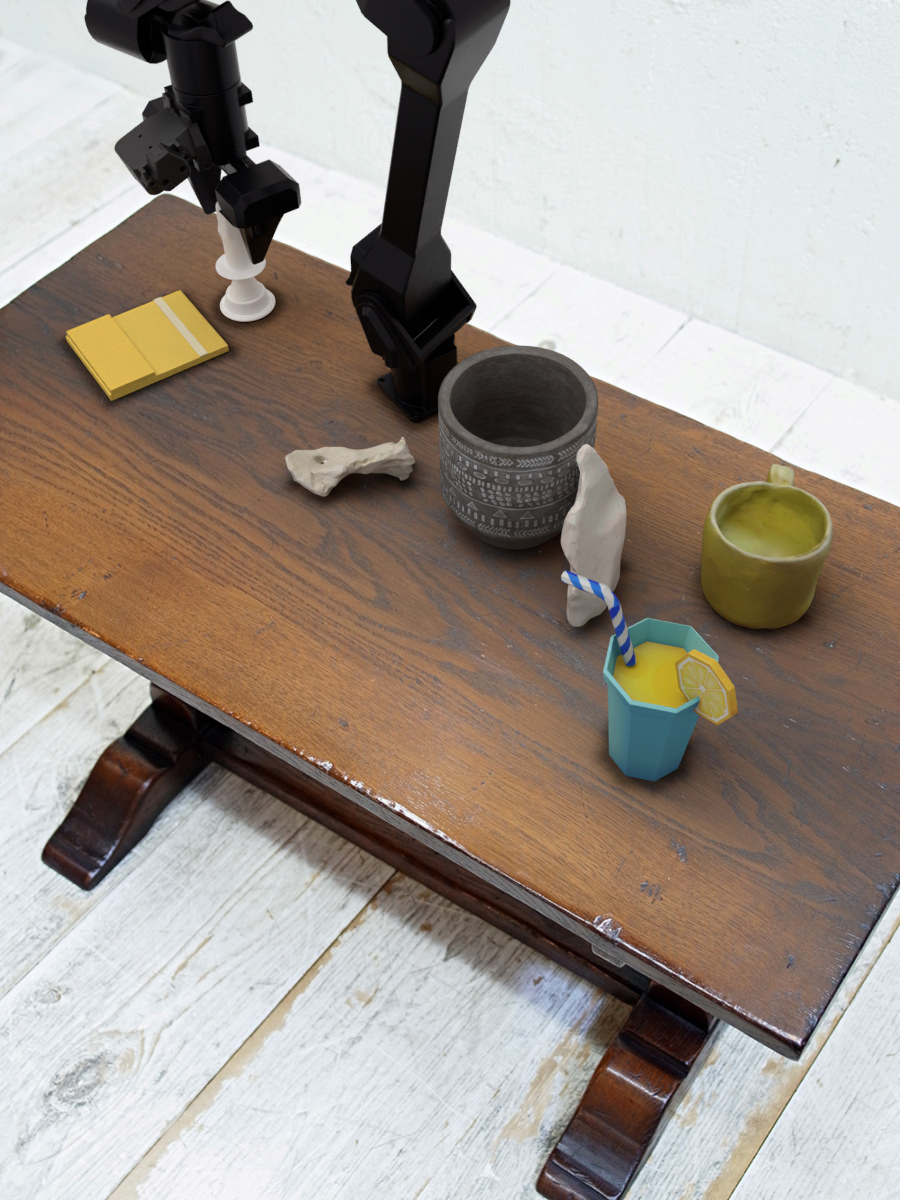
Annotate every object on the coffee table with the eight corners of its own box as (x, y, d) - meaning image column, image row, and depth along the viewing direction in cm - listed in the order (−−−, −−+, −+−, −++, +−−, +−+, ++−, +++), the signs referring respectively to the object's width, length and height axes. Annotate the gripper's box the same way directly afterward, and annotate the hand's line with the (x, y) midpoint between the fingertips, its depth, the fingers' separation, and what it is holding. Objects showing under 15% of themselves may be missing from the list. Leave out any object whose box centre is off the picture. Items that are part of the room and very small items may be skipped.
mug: (813, 657, 95) (806, 542, 90) (683, 635, 100) (670, 525, 95) (863, 570, 103) (860, 459, 98) (740, 554, 108) (731, 449, 103)
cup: (524, 732, 94) (530, 603, 82) (582, 661, 97) (596, 529, 86) (692, 833, 88) (724, 711, 76) (747, 754, 92) (785, 627, 80)
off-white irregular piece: (285, 467, 111) (279, 429, 107) (404, 445, 112) (401, 406, 109) (296, 513, 107) (290, 476, 104) (418, 490, 109) (416, 452, 105)
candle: (266, 325, 122) (248, 217, 113) (212, 319, 123) (190, 211, 114) (282, 290, 126) (266, 183, 116) (230, 284, 126) (210, 177, 117)
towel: (229, 351, 120) (227, 340, 119) (111, 401, 116) (108, 391, 115) (181, 295, 126) (179, 285, 125) (67, 341, 122) (63, 331, 121)
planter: (588, 462, 110) (598, 345, 100) (588, 571, 103) (600, 457, 93) (446, 457, 111) (442, 341, 101) (436, 565, 103) (431, 451, 93)
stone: (623, 644, 97) (601, 498, 87) (568, 641, 99) (541, 497, 88) (642, 546, 104) (624, 399, 94) (591, 544, 105) (568, 399, 95)
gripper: (69, 59, 108) (110, 217, 121) (167, 162, 99) (201, 323, 111) (188, 20, 112) (216, 177, 124) (293, 116, 102) (313, 277, 115)
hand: (233, 237), depth 118 cm, fingers open, 9 cm apart
